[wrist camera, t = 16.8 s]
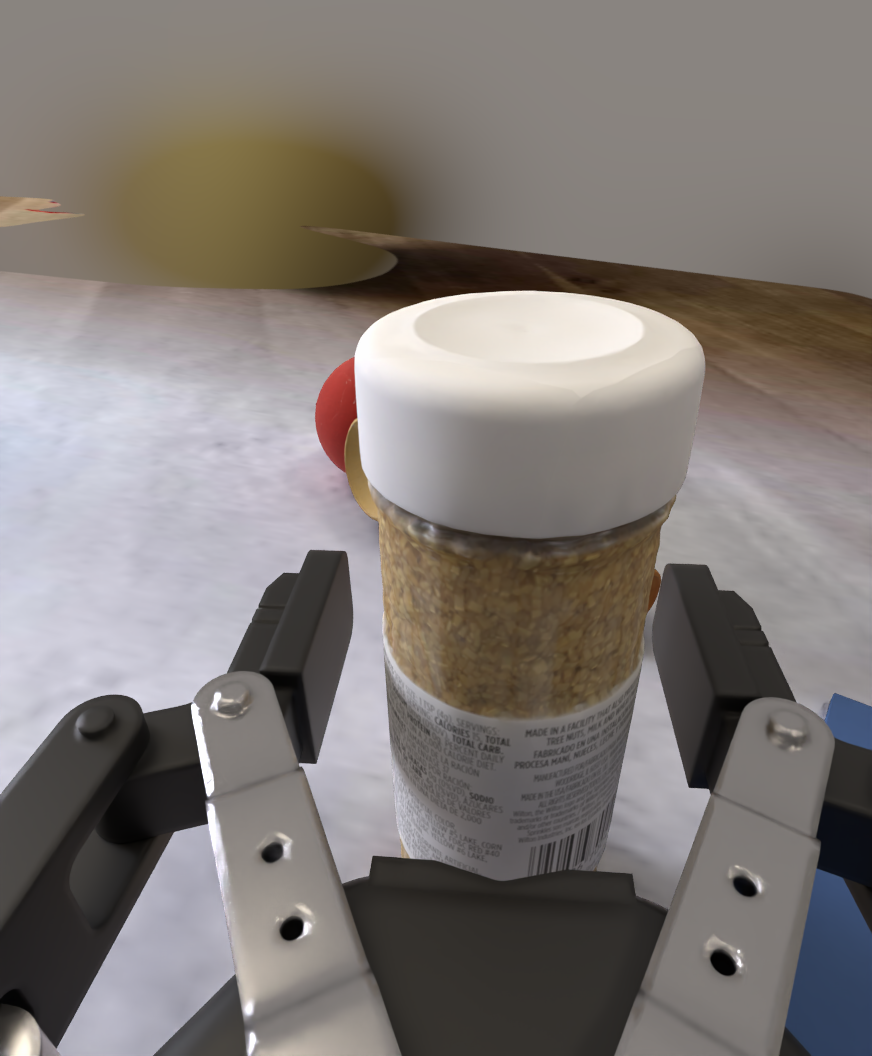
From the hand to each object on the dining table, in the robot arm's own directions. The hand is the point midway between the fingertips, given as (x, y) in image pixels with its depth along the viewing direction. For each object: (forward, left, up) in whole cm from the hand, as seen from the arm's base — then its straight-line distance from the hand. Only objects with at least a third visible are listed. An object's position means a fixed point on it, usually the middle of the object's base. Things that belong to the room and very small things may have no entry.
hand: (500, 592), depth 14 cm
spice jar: (-2, -1, -7) cm, 8 cm away
